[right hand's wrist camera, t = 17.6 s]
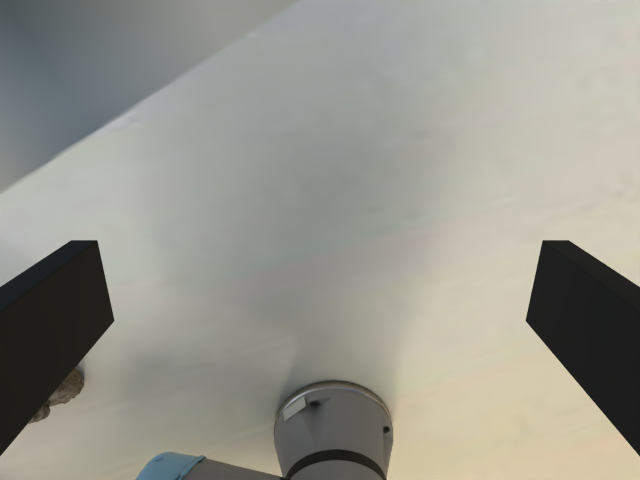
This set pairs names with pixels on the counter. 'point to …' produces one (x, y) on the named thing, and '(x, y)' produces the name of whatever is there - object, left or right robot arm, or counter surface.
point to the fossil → (61, 394)
